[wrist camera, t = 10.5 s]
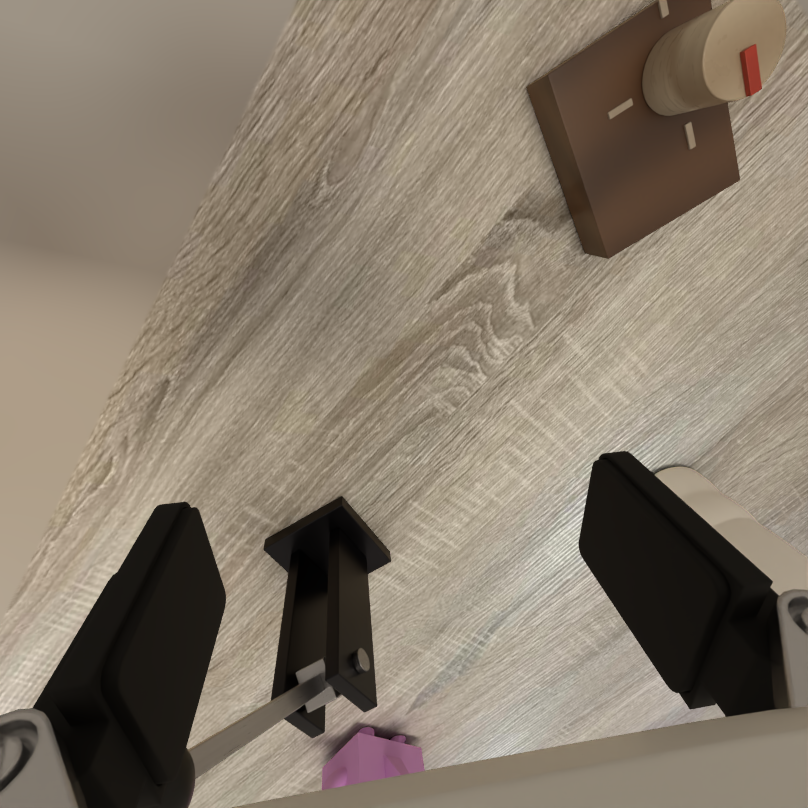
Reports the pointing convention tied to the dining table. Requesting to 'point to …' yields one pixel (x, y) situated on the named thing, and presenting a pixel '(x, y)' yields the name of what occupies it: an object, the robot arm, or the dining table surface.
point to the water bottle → (740, 529)
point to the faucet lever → (247, 731)
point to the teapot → (371, 760)
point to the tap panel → (629, 136)
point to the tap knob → (715, 57)
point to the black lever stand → (327, 606)
